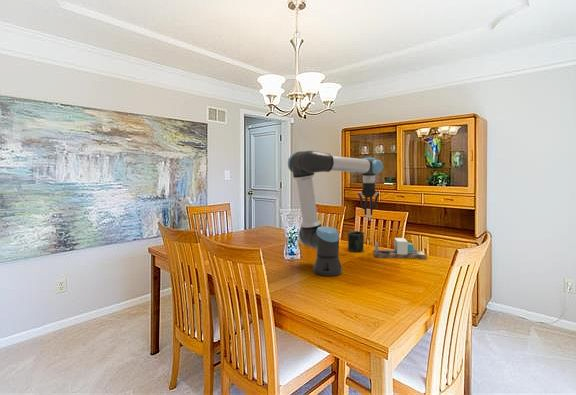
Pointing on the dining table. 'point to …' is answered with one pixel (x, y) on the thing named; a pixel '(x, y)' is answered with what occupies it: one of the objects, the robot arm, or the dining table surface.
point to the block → (410, 247)
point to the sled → (392, 250)
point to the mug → (355, 241)
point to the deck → (399, 255)
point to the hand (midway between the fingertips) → (368, 220)
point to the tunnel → (401, 246)
